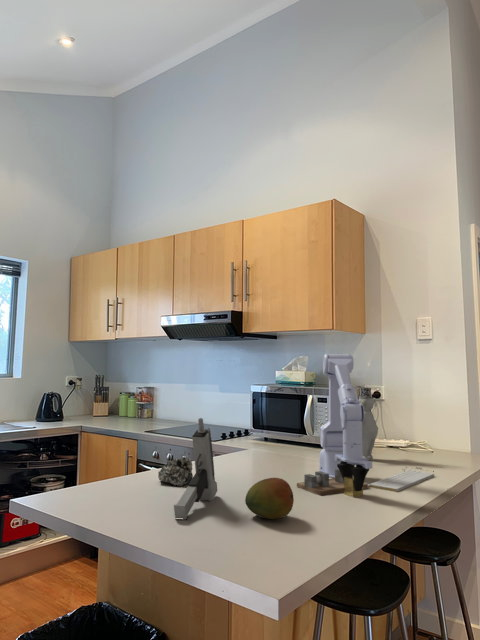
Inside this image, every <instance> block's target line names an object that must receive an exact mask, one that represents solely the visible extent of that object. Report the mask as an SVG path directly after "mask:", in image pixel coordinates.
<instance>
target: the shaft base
mask: <svg viewBox="0 0 480 640" xmlns="http://www.w3.org/2000/svg"><path fill="white" fill-rule="evenodd" d="M352 476H353V475H352ZM303 478H304V479H303V480H304V481H302V482H297V483H296V487H297V488H298V489H301V490H305V491H307V492H310V493H312V494H315V495H318V496H325V495H326V496H327V495H332V494H338V493H344V481H343V478H342V475H341V472H340V470H339V469H335V478H333V477H331V478H330V477H329V474H328V473H325V472H321V471H319V470H317V471H315V472H314V474H311V473H307V474H304V477H303ZM365 489H369V487H368V484H367V483H365V482H364V483H363V490H365Z"/></svg>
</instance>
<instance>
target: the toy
mask: <svg viewBox="0 0 480 640" xmlns="http://www.w3.org/2000/svg"><path fill="white" fill-rule="evenodd" d="M358 400H359V401H360V402H361V403H362V404H363V408H364V420H363V422H361V423H362V458H364V459H366V460H368V461H370V460H373V458H374V457H373V455H372V453H373V452H372V451H373V449H374V446H375V443H376V442H375V441H376V438H377V436H378V434H379V433H378V432H379V427H378V425H377V422H376V420H375V416H374V414H373V412H372V411H371V410H372V409H374V405H375V399H374V398H373V396H372V388H371V387H359V396H358Z"/></svg>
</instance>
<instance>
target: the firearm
mask: <svg viewBox="0 0 480 640" xmlns="http://www.w3.org/2000/svg"><path fill="white" fill-rule="evenodd" d="M197 422H198V429H197V430H196V431H194V433H192V435H191V436H192V437H191V440H192V448H193V459H194V466H195V467H194V469H195V470H194V471H195V474H194V475H193V478H192V480H191V481H190V483H187V484H188V485H187V487H186V489H185V491H184V492H183V494H182V496H181V497H180V499H179V500H178V501H177V503H176V504H174V505H173V511H174V518H183V519H188V517H187V516H188V515H189V512H191V509H192V508H193V507H194V504H195V503H199V502H200V501H204V500H212V501H213V500H214V499H215V496H216V494H217V493H218V482H216V478H215V466H214V465H215V464H214V454H213V441H212V436H211V435H212V434H211V433H212V432H211V429H210V427H208V428H205V425H204V418H202V417H199V418H198V421H197Z"/></svg>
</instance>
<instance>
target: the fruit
mask: <svg viewBox="0 0 480 640" xmlns="http://www.w3.org/2000/svg"><path fill="white" fill-rule="evenodd" d="M244 502H245V505H246V507H247V509H248V510H250V512H251V513H253V514H255V515H256V516H258V517H260V518H263V519H267V520H278V519H283V518H284V517H287V515H289V514H290V512H291V511H292V510H293V506H294V492H293V490H292V487H291V485H290V484H289V483H288V482H287V480H285V479H283V478H280V477H269V478H264V479H262V480H261V479H260V480H259V481H257V482H256V483H254V484H253V485H252V486H251V487H250V488H249V489H248V490H247V492H246V496H245V501H244Z"/></svg>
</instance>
